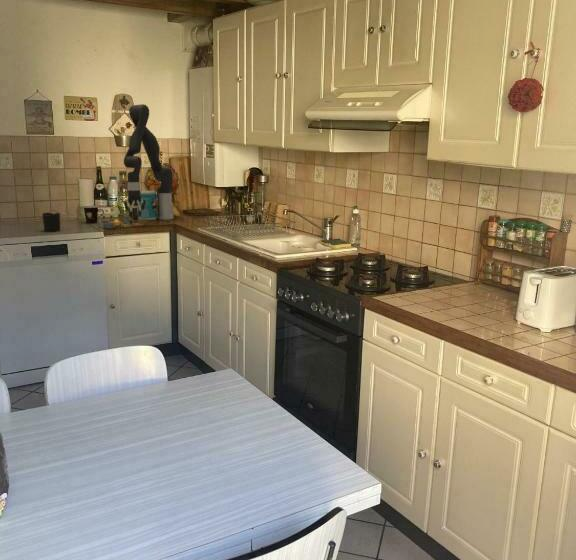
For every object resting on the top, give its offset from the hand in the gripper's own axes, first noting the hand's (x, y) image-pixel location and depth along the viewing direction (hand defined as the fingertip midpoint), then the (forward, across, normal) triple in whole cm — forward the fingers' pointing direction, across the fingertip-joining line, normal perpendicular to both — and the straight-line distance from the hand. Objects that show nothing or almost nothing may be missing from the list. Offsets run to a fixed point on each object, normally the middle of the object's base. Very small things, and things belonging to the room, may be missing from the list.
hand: (135, 216), depth 384 cm
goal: (+5, +19, 0) cm, 20 cm away
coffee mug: (+5, +20, -19) cm, 28 cm away
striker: (+5, +2, 0) cm, 5 cm away
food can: (+5, -15, -17) cm, 23 cm away
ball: (+3, +12, 0) cm, 12 cm away
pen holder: (+5, +49, -4) cm, 49 cm away
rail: (+5, +4, 0) cm, 6 cm away
